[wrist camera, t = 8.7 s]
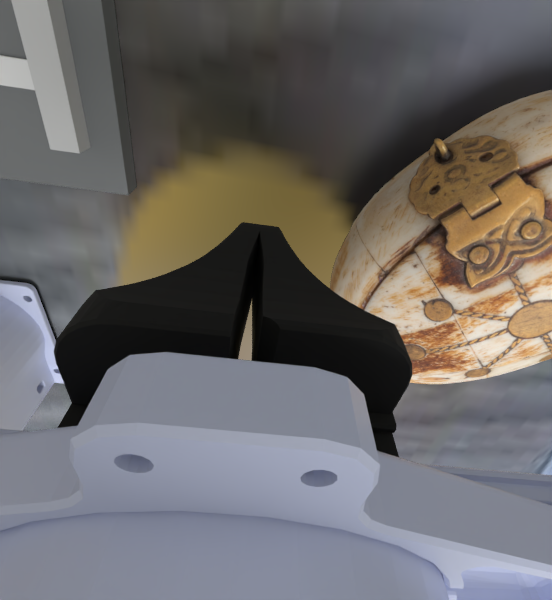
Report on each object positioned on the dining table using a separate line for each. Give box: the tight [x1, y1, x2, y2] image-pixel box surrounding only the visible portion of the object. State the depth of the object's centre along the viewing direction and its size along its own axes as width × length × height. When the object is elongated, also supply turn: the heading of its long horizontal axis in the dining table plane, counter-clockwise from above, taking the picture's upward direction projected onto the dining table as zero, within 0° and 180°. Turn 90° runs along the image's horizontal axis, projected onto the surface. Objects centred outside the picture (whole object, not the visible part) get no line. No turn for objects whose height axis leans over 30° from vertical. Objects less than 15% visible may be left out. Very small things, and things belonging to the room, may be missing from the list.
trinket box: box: [330, 90, 552, 384], centre depth 15 cm, size 13×15×8 cm
